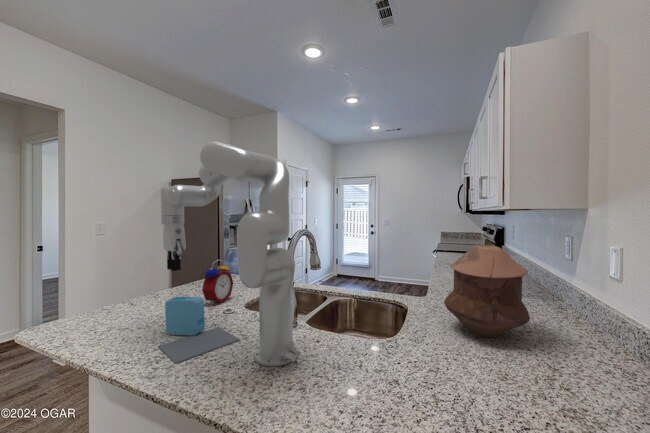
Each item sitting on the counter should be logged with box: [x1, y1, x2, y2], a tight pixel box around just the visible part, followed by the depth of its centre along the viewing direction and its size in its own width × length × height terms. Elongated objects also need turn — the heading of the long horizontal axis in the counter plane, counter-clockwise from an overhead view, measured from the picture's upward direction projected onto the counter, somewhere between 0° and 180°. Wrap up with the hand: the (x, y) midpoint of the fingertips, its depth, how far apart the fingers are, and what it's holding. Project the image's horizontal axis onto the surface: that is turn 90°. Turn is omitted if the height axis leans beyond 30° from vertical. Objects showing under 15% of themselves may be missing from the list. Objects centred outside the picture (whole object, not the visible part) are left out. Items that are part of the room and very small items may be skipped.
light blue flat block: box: [164, 296, 206, 336], centre depth 102 cm, size 12×4×12 cm, turn 81°
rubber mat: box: [157, 326, 241, 365], centre depth 94 cm, size 15×20×1 cm
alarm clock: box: [201, 259, 234, 306], centre depth 137 cm, size 15×9×20 cm, turn 162°
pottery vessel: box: [443, 244, 531, 338], centre depth 100 cm, size 26×26×30 cm
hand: (174, 269), depth 108 cm, fingers open, 3 cm apart
